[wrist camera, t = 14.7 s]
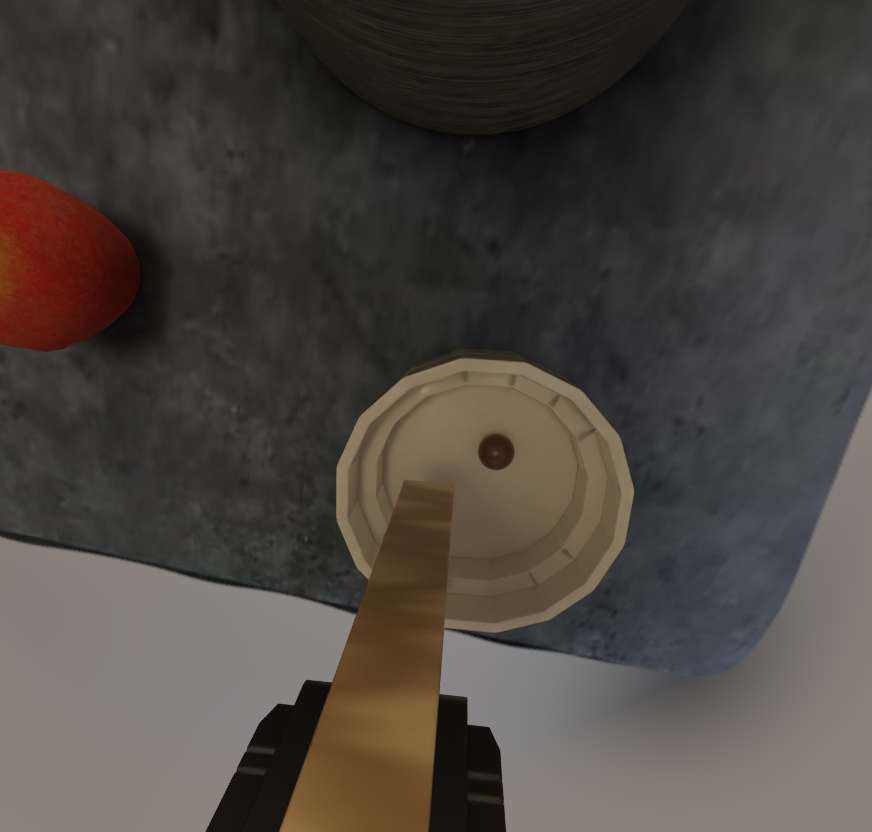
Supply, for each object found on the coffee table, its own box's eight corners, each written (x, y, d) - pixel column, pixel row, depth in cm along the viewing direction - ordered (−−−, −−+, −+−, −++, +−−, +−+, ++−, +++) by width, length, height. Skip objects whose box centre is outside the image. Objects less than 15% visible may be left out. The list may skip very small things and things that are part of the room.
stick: (454, 483, 21) (419, 968, 6) (451, 529, 22) (411, 1081, 6) (404, 479, 21) (236, 943, 6) (402, 524, 22) (246, 1056, 6)
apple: (142, 364, 26) (12, 389, 19) (18, 298, 26) (-166, 296, 18) (188, 241, 25) (63, 215, 17) (55, 167, 24) (-134, 105, 17)
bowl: (619, 357, 24) (657, 371, 20) (582, 585, 28) (606, 644, 23) (361, 340, 25) (336, 349, 20) (357, 564, 29) (335, 617, 24)
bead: (514, 430, 25) (518, 441, 23) (510, 464, 26) (514, 477, 24) (478, 427, 25) (479, 438, 23) (476, 461, 26) (476, 474, 24)
